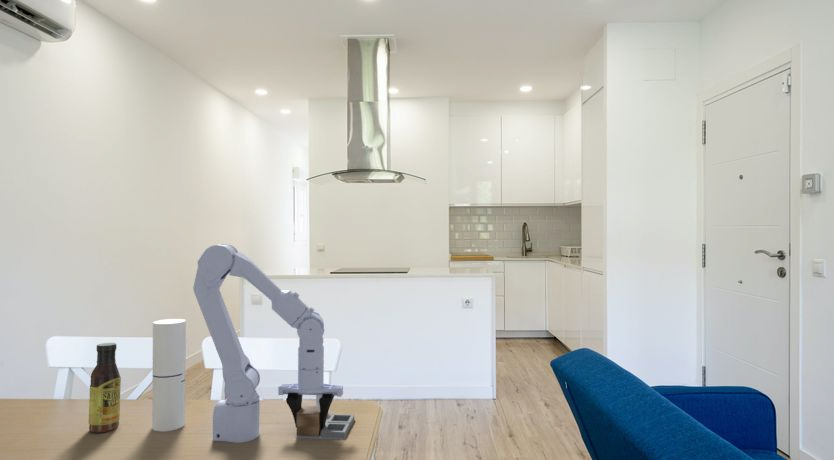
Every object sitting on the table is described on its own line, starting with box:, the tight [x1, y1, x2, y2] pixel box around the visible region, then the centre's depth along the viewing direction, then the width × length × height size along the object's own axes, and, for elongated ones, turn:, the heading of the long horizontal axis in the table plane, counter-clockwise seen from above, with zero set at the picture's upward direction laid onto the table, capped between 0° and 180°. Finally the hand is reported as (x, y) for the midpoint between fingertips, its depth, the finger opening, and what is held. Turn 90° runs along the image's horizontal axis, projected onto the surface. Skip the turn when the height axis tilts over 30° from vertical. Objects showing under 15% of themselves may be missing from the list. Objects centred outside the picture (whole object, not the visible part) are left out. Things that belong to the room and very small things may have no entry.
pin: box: [315, 395, 322, 406], centre depth 132 cm, size 3×3×6 cm
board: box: [295, 413, 355, 440], centre depth 121 cm, size 11×12×4 cm
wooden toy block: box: [296, 405, 322, 437], centre depth 119 cm, size 5×5×5 cm
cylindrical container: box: [151, 318, 187, 432], centre depth 125 cm, size 7×7×25 cm
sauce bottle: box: [88, 342, 122, 434], centre depth 123 cm, size 6×6×20 cm
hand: (310, 426), depth 119 cm, fingers closed on wooden toy block, 5 cm apart
